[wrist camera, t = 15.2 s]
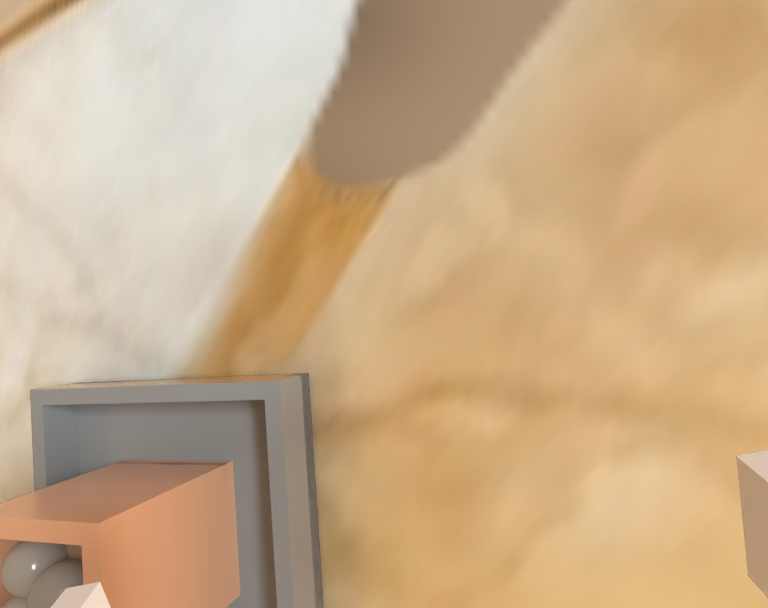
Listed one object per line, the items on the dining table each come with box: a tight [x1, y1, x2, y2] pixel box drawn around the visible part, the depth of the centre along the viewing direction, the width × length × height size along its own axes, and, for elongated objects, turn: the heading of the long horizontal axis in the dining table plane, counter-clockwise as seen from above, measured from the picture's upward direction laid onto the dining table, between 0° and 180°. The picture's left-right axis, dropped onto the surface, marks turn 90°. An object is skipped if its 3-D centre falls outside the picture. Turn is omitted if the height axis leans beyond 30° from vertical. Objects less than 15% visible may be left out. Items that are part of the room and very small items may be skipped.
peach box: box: [0, 459, 241, 608], centre depth 28 cm, size 8×8×11 cm
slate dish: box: [30, 373, 324, 608], centre depth 33 cm, size 18×18×4 cm
